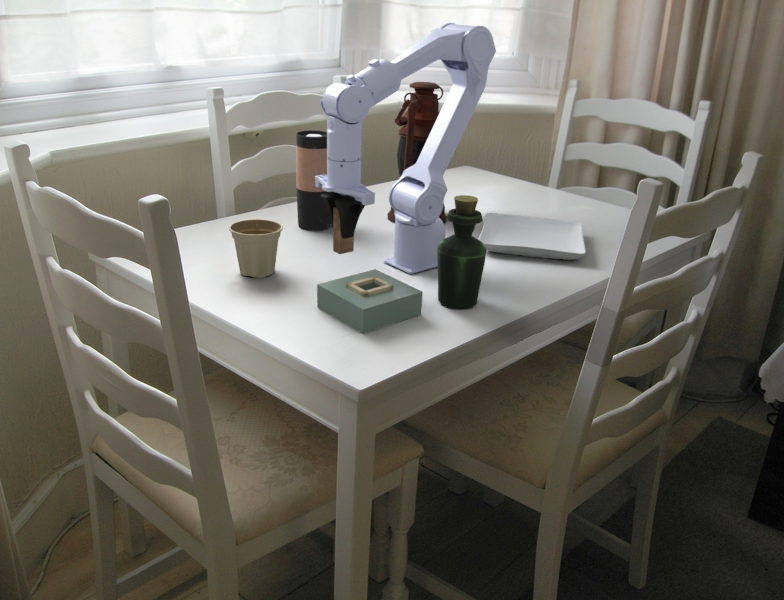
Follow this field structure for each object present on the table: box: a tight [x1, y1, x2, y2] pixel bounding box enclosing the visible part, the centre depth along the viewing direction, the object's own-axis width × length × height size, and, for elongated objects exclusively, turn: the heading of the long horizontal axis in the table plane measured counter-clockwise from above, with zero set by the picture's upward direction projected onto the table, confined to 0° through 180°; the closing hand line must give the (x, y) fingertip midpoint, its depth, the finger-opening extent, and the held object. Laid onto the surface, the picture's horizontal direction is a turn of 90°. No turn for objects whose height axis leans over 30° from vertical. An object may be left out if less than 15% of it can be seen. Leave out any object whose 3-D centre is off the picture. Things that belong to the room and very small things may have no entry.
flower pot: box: [228, 218, 284, 279], centre depth 127 cm, size 9×9×9 cm
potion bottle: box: [437, 194, 488, 311], centre depth 116 cm, size 8×8×18 cm
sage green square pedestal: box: [316, 268, 424, 334], centre depth 114 cm, size 12×12×5 cm
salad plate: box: [477, 212, 587, 261], centre depth 149 cm, size 21×21×3 cm
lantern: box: [387, 81, 448, 225], centre depth 157 cm, size 17×14×30 cm
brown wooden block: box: [332, 207, 355, 255], centre depth 124 cm, size 2×3×8 cm, turn 130°
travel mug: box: [295, 129, 332, 232], centre depth 151 cm, size 8×8×20 cm
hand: (343, 235), depth 124 cm, fingers closed on brown wooden block, 2 cm apart
